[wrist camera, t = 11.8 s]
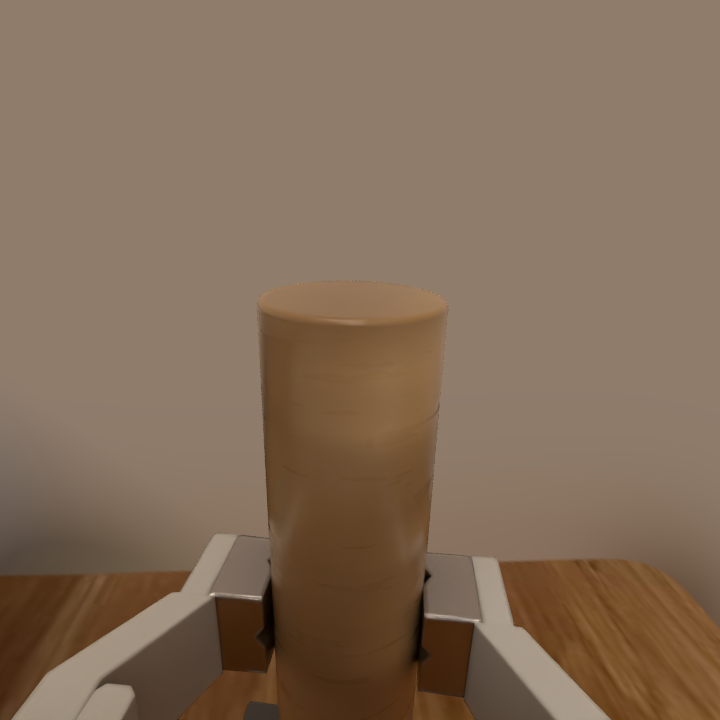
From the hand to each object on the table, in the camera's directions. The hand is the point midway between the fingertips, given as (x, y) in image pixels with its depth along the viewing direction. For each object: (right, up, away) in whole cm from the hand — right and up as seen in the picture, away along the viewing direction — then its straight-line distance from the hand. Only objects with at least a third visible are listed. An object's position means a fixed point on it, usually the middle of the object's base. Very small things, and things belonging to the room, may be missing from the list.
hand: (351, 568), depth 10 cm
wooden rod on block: (0, -9, +2) cm, 9 cm away
